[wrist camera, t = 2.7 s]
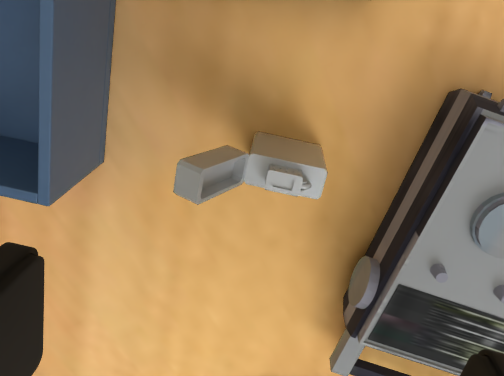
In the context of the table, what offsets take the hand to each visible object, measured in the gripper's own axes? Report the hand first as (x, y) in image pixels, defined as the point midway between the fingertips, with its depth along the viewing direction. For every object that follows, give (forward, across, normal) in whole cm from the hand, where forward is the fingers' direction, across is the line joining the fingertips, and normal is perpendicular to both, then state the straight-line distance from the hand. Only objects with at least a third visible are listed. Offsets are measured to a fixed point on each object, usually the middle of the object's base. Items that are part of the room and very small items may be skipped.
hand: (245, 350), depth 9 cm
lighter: (+18, +1, +1) cm, 18 cm away
